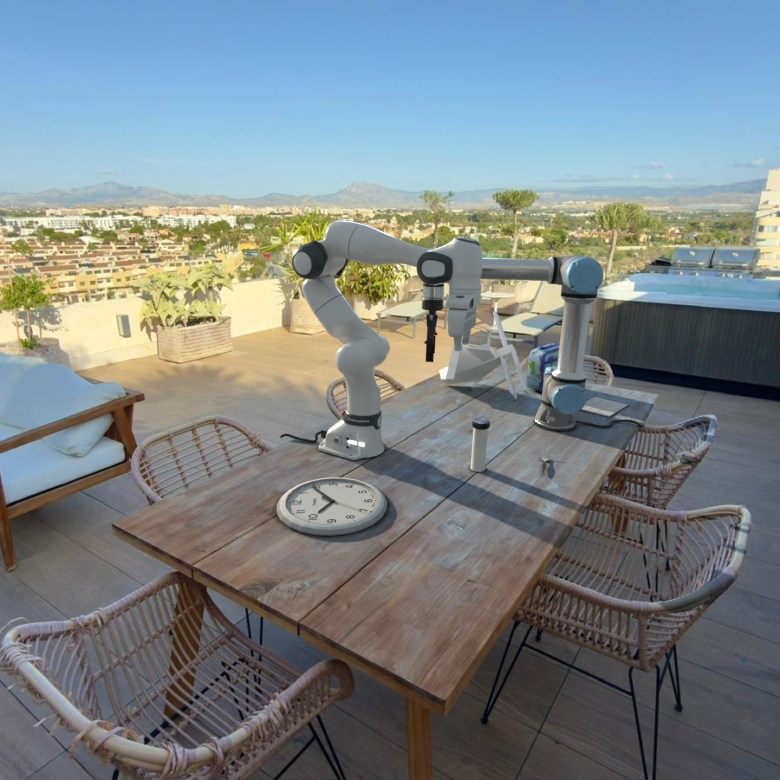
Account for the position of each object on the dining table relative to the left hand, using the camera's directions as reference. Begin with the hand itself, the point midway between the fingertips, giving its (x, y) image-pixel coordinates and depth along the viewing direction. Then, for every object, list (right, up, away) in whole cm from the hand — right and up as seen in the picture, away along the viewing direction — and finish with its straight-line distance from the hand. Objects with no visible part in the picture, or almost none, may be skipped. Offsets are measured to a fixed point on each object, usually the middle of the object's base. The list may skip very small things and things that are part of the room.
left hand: (461, 347), depth 149 cm
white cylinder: (+7, -37, +17) cm, 42 cm away
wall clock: (-36, -44, -6) cm, 57 cm away
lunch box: (+55, -11, +103) cm, 117 cm away
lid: (+8, -22, +12) cm, 26 cm away
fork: (+30, -37, +20) cm, 51 cm away
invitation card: (+71, -20, +77) cm, 106 cm away
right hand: (-6, 0, +40) cm, 41 cm away
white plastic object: (+21, -13, +94) cm, 97 cm away
